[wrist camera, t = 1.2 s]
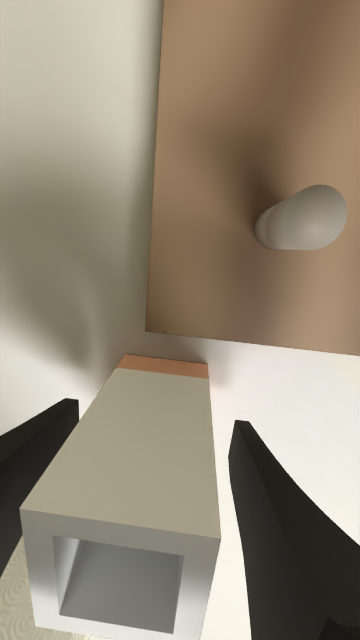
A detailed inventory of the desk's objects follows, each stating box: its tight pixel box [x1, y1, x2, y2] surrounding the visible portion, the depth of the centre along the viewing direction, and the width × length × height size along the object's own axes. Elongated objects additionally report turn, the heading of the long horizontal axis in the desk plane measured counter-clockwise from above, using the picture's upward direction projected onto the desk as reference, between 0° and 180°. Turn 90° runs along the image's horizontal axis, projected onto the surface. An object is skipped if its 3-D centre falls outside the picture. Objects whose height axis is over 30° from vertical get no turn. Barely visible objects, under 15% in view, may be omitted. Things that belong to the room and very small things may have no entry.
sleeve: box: [19, 354, 221, 640], centre depth 10 cm, size 4×4×8 cm
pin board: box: [145, 0, 360, 356], centre depth 7 cm, size 10×20×4 cm, turn 175°
